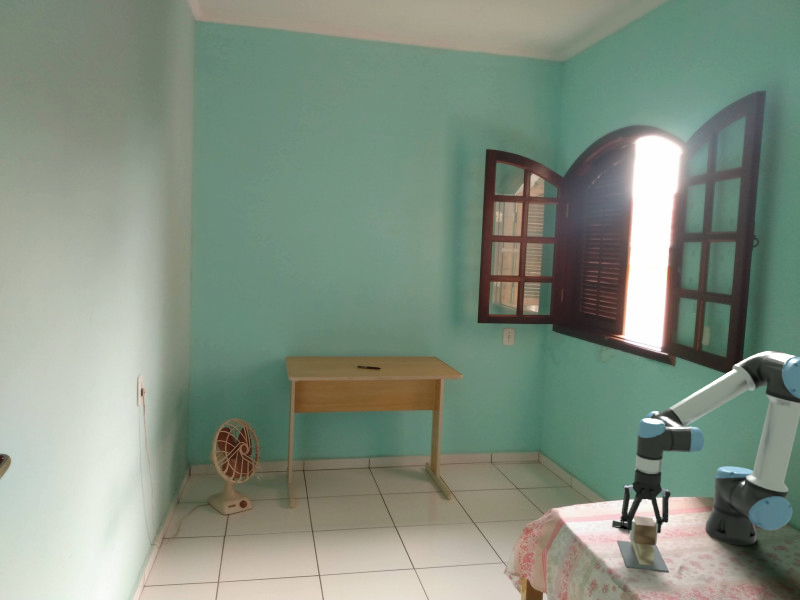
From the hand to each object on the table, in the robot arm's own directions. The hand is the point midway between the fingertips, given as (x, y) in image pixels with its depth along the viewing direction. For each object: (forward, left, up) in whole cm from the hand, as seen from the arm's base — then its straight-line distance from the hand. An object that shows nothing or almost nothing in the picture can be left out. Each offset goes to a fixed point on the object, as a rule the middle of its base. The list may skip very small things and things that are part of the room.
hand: (642, 540), depth 191 cm
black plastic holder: (+1, -20, -6) cm, 21 cm away
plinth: (0, 0, -5) cm, 5 cm away
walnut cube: (0, 0, 0) cm, 0 cm away
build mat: (0, 0, -5) cm, 5 cm away
